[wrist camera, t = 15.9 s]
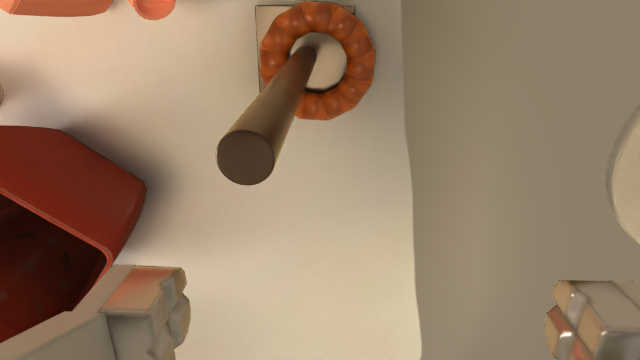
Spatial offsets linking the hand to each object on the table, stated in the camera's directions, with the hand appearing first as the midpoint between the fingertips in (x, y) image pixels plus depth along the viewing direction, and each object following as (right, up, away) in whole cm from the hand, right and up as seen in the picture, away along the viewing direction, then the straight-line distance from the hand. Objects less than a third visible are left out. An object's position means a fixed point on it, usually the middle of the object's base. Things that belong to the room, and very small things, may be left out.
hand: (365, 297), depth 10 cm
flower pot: (-31, +1, +45) cm, 54 cm away
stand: (-2, +16, +36) cm, 40 cm away
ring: (-1, +14, +34) cm, 37 cm away
